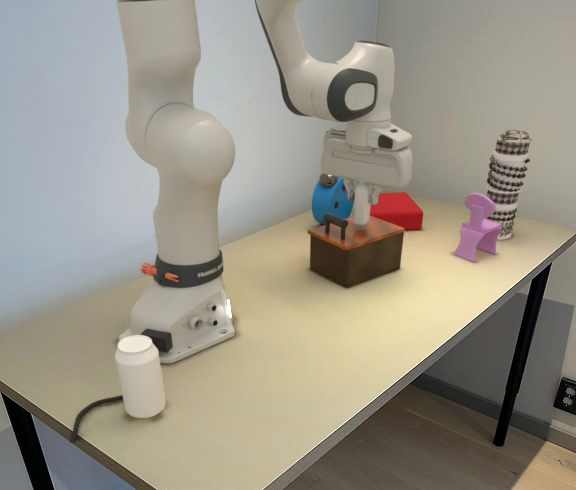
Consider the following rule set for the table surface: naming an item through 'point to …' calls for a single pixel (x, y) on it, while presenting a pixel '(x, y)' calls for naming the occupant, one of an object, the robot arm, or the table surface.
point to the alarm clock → (330, 198)
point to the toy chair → (478, 228)
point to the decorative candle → (507, 177)
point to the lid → (353, 231)
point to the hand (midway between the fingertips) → (362, 201)
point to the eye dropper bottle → (362, 203)
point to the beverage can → (140, 376)
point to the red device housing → (398, 210)
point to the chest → (356, 260)
